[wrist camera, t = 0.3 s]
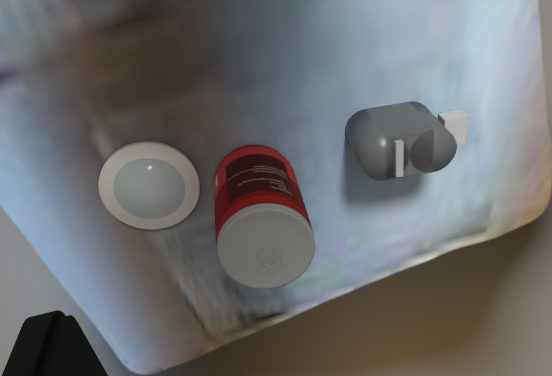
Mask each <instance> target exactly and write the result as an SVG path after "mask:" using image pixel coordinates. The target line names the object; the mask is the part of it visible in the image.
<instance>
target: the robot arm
mask: <svg viewBox="0 0 552 376" xmlns="http://www.w3.org/2000/svg"><path fill="white" fill-rule="evenodd" d="M2 376H108V375H107V373H106V371H105V369H104V368H103V366H102V364H101V362H100V361H99V359H98V357H97V356H96V354H95V352H94V350H93V349H92V347H91V345H90V343H89V342H88V340H87V338H86V336H85V335H84V333H83V331H82V329H81V328H80V326H79V324H78V323H77V321H76V319H75V318H74V317H73V316H71V315H70V316H65V314H64V313H63V312H61V311H53V312H49V313H45V314H41V315H37V316H33V317H29V318H27V319H26V320H25V322H24V323H23V325H22V328H21V330H20V333H19V335H18V337H17V340H16V343H15V345H14V347H13V350H12V352H11V355H10V357H9V360H8V362H7V365H6V367H5V370H4V372H3V374H2Z"/></svg>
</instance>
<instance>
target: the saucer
mask: <svg viewBox="0 0 552 376" xmlns="http://www.w3.org/2000/svg"><path fill="white" fill-rule="evenodd" d="M98 187H99V194H100V197H101V200H102V202H103V204H104V205H105V207H106V208H107V210H108V211H109V212H110V213H111V214H112V215H113V216H114V217H116V218H117V219H118V220H120V221H122V222H123V223H125V224H128V225H130V226H133V227H136V228H141V229H162V228H166V227H170V226H173V225H175V224H177V223H179V222H180V221H182V220H183V219H185V218H186V217H187V216H188V215H189V214H190V213H191V212H192V210H193V209H194V207H195V206H196V204H197V201H198V198H199V192H200V182H199V176H198V173H197V170H196V168H195V166H194V164H193V163H192V161H191V160H190V159H189V158H188V157H187V156H186V155H185V154H184V153H183V152H181V151H180V150H178V149H177V148H175V147H173V146H171V145H168V144H165V143H162V142H157V141H138V142H133V143H130V144H127V145H124V146H123V147H121V148H119V149H117V150H116V151H115V152H113V153H112V154H111V155H110V156H109V158H108V159H107V160H106V162H105V163H104V165H103V167H102V170H101V173H100V177H99V184H98Z"/></svg>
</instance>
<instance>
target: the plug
mask: <svg viewBox="0 0 552 376" xmlns="http://www.w3.org/2000/svg"><path fill="white" fill-rule="evenodd" d="M467 118H468V117H467V116H466V115H465V114H464V113H463V112H462V111H461V110H454V111H448V112H442V113H438V119H437V118H436V117H435V116H434V115H433V114H432V113H431V112H430V111H429V110H428V109H427V108H426V107H425V106H424V105H423V104H421V103H418V102H406V103H400V104H393V105H387V106H381V107H375V108H369V109H364V110H361V111H359V112H357V113H355V114H354V115H353V116H352V117H351V118H350V119H349V121H348V122H347V125H346V128H345V135H346V138H347V140H348V142H349V144H350V146H351V147H352V149H353V151H354V153H355V155H356V157H357V158H358V160H359V162H360V164H361V166H362V167H363V169H364V171H365V173H366V174H367V175H368V176H369V177H371V178H373V179H376V180H389V179H395V178H401V177H407V176H413V175H418V174H424V173H430V172H435V171H438V170H440V169H442V168H444V167H445V166H447V165H448V164H449V163H450V162H451V160H452V159H453V157H454V155H455V153H456V149H457V145H460V144H466V131H467Z"/></svg>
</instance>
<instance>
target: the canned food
mask: <svg viewBox="0 0 552 376" xmlns="http://www.w3.org/2000/svg"><path fill="white" fill-rule="evenodd" d="M214 199H215V227H216V246H217V253H218V257H219V261H220V264H221V266H222V268H223V269H224V271H225V272H226V273H227V274H228V275H229V276H230V277H231V278H232V279H233V280H235V281H237V282H238V283H240V284H242V285H245V286H248V287H252V288H257V289H270V288H277V287H280V286H283V285H286V284H288V283H290V282H292V281H294V280H295V279H297V278H298V277H300V276H301V275H302V274H303V273H304V272H305V271H306V270H307V268H308V267H309V265H310V264H311V261H312V259H313V257H314V252H315V240H314V234H313V231H312V227H311V224H310V220H309V217H308V214H307V211H306V208H305V205H304V202H303V199H302V196H301V192H300V189H299V186H298V183H297V180H296V177H295V174H294V171H293V168H292V167H291V165H290V163H289V162H288V161H287V160H286V159H285V157H283V156H282V155H281V154H280V153H278V152H277V151H275V150H273V149H271V148H269V147H265V146H262V145H249V146H244V147H241V148H238V149H236V150H234V151H232V152H231V153H230V154H229V155H227V156H226V157H225V158H224V160H223V161H222V162H221V164H220V165H219V167H218V169H217V171H216V174H215V178H214Z"/></svg>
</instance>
